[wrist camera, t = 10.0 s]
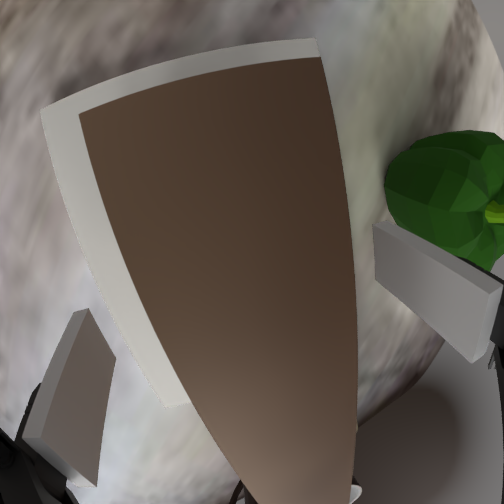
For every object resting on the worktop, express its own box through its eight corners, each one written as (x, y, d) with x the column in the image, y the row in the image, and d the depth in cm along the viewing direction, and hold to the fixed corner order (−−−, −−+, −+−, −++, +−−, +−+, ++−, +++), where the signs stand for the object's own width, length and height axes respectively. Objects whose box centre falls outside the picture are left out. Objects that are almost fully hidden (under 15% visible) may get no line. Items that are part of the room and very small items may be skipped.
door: (228, 355, 19) (277, 528, 8) (158, 131, 14) (78, 114, 3) (290, 336, 20) (375, 492, 9) (241, 110, 14) (393, 55, 3)
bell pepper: (390, 261, 21) (486, 333, 12) (347, 163, 18) (472, 198, 9) (459, 203, 21) (556, 243, 12) (430, 109, 18) (547, 119, 9)
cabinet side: (164, 394, 22) (166, 451, 16) (50, 111, 13) (1, 105, 8) (348, 337, 23) (383, 382, 18) (305, 44, 15) (351, 16, 10)
